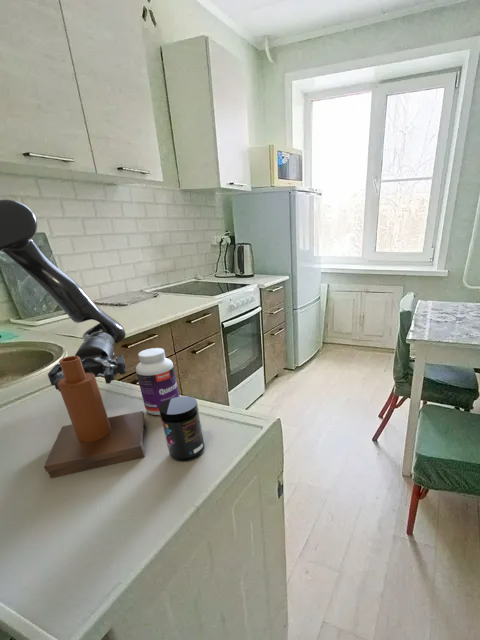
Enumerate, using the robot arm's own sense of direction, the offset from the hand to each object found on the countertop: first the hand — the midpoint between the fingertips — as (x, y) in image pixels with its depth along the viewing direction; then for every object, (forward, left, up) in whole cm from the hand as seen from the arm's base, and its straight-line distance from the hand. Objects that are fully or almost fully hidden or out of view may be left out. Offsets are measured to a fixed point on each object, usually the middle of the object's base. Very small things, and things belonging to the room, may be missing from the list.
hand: (83, 383), depth 69 cm
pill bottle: (+13, +7, -13) cm, 20 cm away
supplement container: (+17, -13, -13) cm, 25 cm away
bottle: (0, -4, -9) cm, 10 cm away
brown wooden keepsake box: (+1, -5, -12) cm, 14 cm away
